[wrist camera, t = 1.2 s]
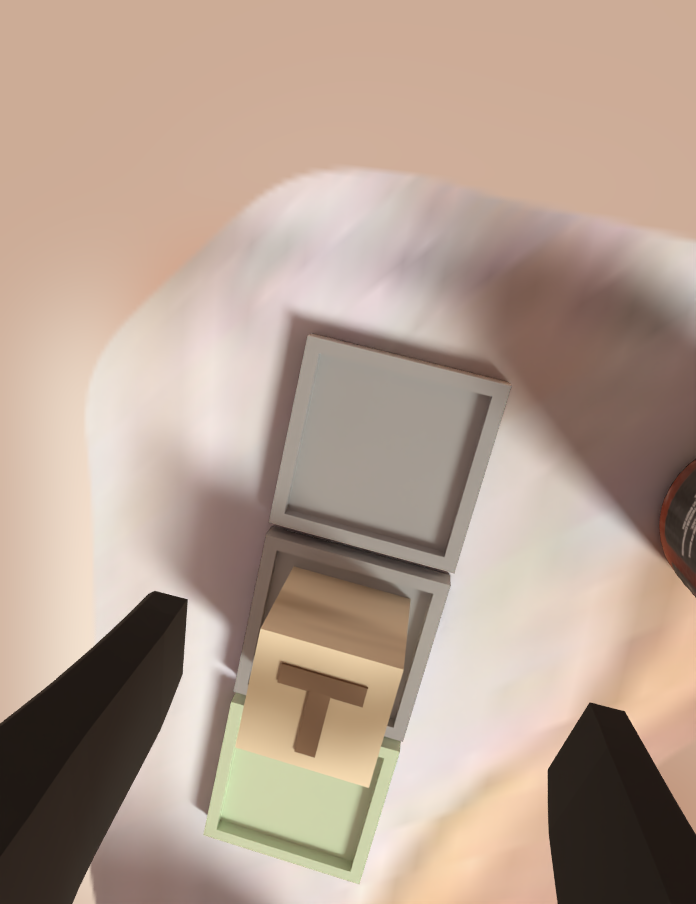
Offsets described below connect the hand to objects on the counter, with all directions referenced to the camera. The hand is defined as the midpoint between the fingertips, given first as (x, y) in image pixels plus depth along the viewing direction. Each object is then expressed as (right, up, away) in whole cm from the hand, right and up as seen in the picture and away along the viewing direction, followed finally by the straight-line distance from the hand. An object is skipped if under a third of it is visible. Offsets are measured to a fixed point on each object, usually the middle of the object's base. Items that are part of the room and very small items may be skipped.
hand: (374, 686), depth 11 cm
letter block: (-1, -3, +13) cm, 14 cm away
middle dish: (-1, -3, +14) cm, 14 cm away
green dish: (-2, -10, +16) cm, 19 cm away
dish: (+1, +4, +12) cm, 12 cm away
